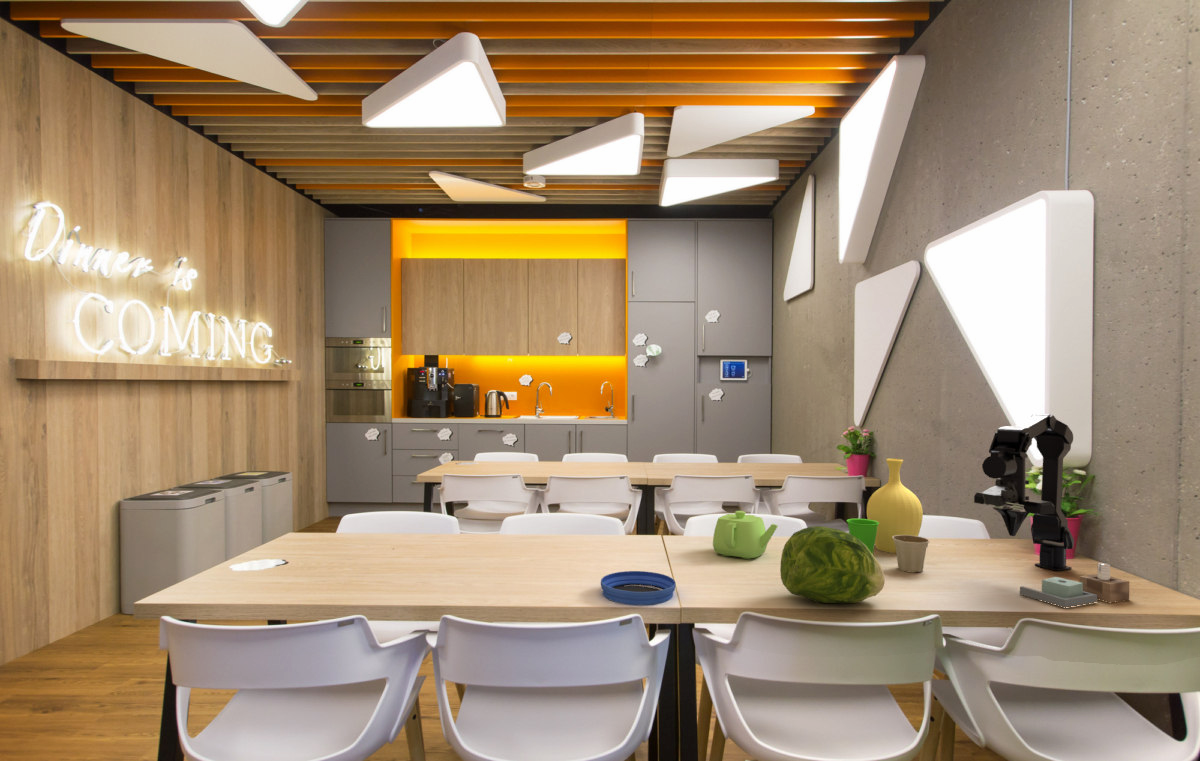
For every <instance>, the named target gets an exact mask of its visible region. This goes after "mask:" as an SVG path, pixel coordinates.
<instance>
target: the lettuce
mask: <svg viewBox="0 0 1200 761" xmlns="http://www.w3.org/2000/svg"><path fill="white" fill-rule="evenodd" d="M781 553H782V554H781V558H780V568H779V569H780V579H781V582H782V585H783V586H784V587H785V588H786V590H787V591H788V592H789V593H790V594H792V595H796V596H801V597H802V598H804V599H808V600H810V601H813V602H818V603H825V604H826V603H827V604H829V603H831V604H833V603H834V604H855V603H859V602H863V601H864V600H867V599H868V598H872V597H875V596H877V595H878V594H879V593H880V592H881V591H882V590H883V588H884V587H885V583H886V582H885V578H886V577H885V574H884V570H883V568H882V567H881V564H880V563H879V561H878V560H877V558H876V557H875V556H874V554H873V555H872V553H871V552H870V551H869V549H868V548H867V546H866V545H865V544H864V543H862V542H861V541H860V540H859V539H857V538H856V537H854V536H853V535H851V534H849V532H847V531H844V530H842V529H838V528H833V527H828V526H827V527H826V526H821V525H815V526H809V527H805V528H802V529H799V530H798V531H795V532H794V533H792V535H790V537H788V539H787V541H786V542H785V544H784V546H783V549H782V551H781Z"/></svg>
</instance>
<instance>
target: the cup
mask: <svg viewBox="0 0 1200 761" xmlns="http://www.w3.org/2000/svg"><path fill="white" fill-rule="evenodd" d="M845 522H846V523H847V527H848V533H849V534H851V535H853V536H854V537H856V538H857V539H859V540H860V541H861V542H862V543H864V544H865V545H866V546H867V548H868V549H869V551H870V552H871V553H872V555H873V556H874V550H875V546H876V545H875V539H876V533H877V527H878V524H879V522H878V521H874V520H869V519H866V518H849V519H846V521H845Z"/></svg>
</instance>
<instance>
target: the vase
mask: <svg viewBox="0 0 1200 761" xmlns="http://www.w3.org/2000/svg"><path fill="white" fill-rule="evenodd" d="M885 461H886V464H887V466H888V469H889V470H888V471H889V475H888V476H889V477H888V481H887V483H886V484H884V485H883V486H881V487H880V488H878V489H877V490H875V491H874V492H873V493H872V494H871V496H870V497H869V499H868V501H867V504H866V517H867V519H869V520H874V521H878V522H879V524H878V527H877V533H876V539H875V545H874V546H875V547H876V548H875V549H877V550H879V551H881V552H885V553H891V554H896V547H895V544H894V540H893V539H892V537H893V536H896V535H911V536H919V534H920V531H921V528H922V524H923V518H924V517H923V515H924V513H923V512H924V510H923V506H922V503H921V501H920V499H919V498H918V497H917V495H916V494H915V493H913V492H912V490H910V489H908V488H907V487H905V486H904V484H902V482H901V477H900V476H901V475H900V470H901V468H902V464H903V463H904V459H902V458H901V459H900V458H886V459H885Z"/></svg>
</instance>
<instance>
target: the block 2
mask: <svg viewBox="0 0 1200 761" xmlns="http://www.w3.org/2000/svg"><path fill="white" fill-rule="evenodd" d="M1079 582H1080V583H1083V591H1085V592H1088V593H1092V594H1096V595H1097V599H1100V600H1104V601H1107V602H1115V601H1121V602H1124V601H1123V600H1127V601H1130V580H1127V579H1122V578H1117V577H1114V576H1110V581H1103V580H1099V579H1098V573H1094V574H1092V573H1091V574H1087V575H1086V574H1085V575H1080V576H1079ZM1100 600H1099V601H1100ZM1104 601H1103V602H1104ZM1107 602H1106V603H1107ZM1115 603H1116V602H1115Z"/></svg>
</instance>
